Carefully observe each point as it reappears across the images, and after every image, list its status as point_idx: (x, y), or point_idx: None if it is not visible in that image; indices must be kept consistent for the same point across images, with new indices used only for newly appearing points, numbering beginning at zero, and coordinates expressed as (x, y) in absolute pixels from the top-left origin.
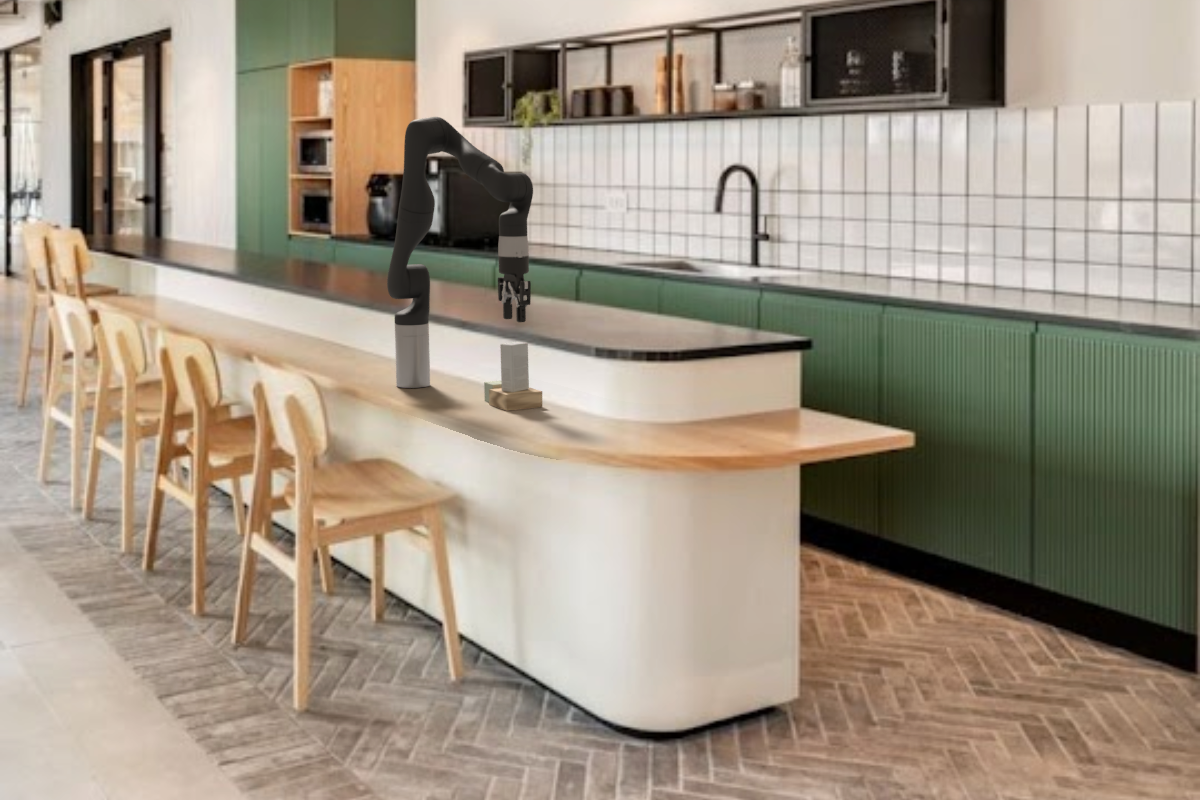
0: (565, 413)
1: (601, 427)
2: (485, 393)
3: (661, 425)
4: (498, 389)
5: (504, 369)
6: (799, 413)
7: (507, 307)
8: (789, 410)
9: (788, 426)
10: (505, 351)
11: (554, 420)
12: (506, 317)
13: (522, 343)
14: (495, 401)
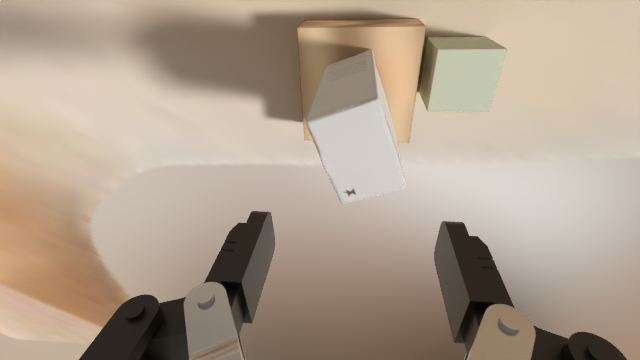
0: (216, 128)
1: (48, 113)
2: (486, 41)
3: (63, 200)
4: (401, 51)
5: (355, 71)
6: None
7: (456, 297)
8: None
9: (48, 298)
10: (343, 97)
11: (139, 67)
12: (442, 234)
13: (336, 182)
14: (377, 22)
